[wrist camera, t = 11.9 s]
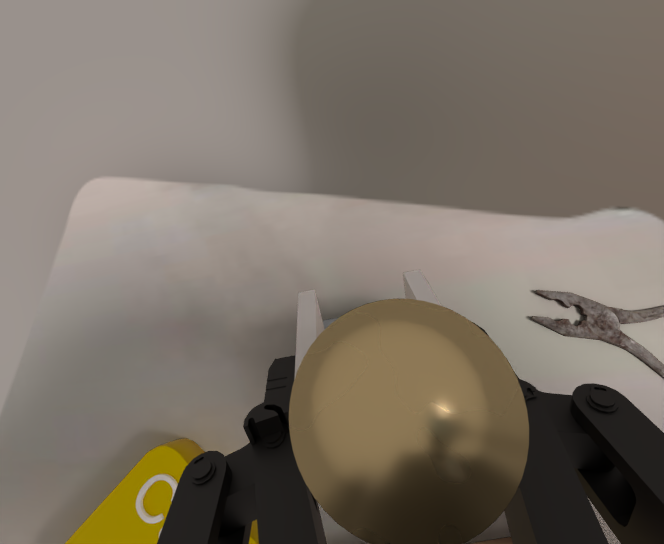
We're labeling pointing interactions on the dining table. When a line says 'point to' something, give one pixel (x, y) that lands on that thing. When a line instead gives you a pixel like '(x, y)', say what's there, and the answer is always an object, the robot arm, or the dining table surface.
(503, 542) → the beam
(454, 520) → the golden rounded rod
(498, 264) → the dining table surface
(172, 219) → the dining table surface
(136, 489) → the element tile
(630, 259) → the dining table surface
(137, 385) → the dining table surface
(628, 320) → the pliers
